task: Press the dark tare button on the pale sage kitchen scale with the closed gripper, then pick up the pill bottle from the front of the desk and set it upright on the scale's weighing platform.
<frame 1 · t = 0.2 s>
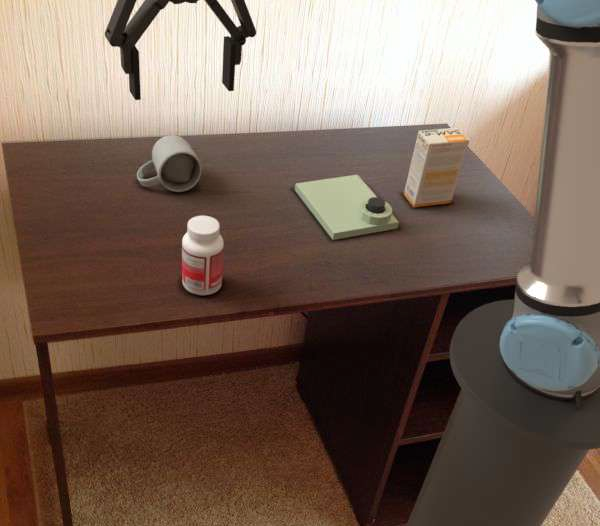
hand: (182, 91, 106), 25 cm above the table, tool pointing down, fingers open, 13 cm apart
supplement box: (426, 200, 142), on the table
scale: (345, 209, 136), on the table
tare button: (376, 205, 132), point 3 cm above the table, slide at 0.1 cm
pill bottle: (201, 285, 117), on the table
ceramic mug: (168, 183, 136), on the table
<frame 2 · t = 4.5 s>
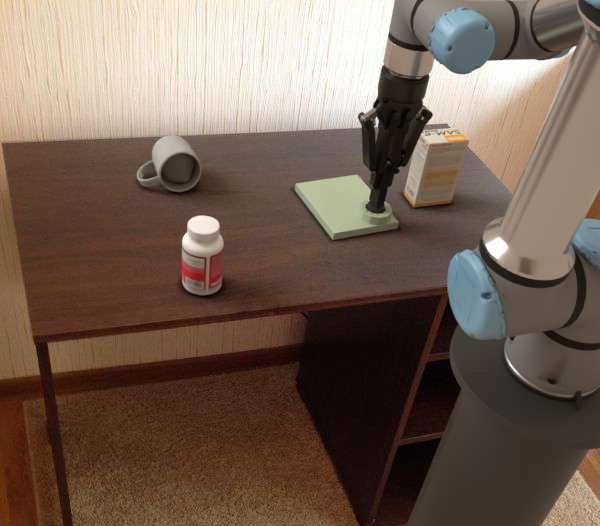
hand: (376, 202, 132), 4 cm above the table, tool pointing down, fingers closed
tare button: (375, 208, 132), point 3 cm above the table, slide at -0.4 cm, touching gripper
everything else where it was.
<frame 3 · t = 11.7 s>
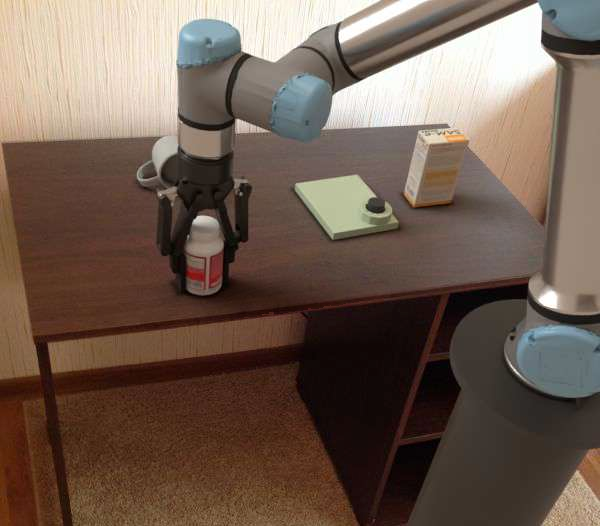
hand: (201, 282, 117), 0 cm above the table, tool pointing down, fingers closed on pill bottle, 6 cm apart
tare button: (376, 205, 132), point 3 cm above the table, slide at 0.1 cm
pill bottle: (201, 285, 117), on the table, touching gripper
everything else where it was.
when the fingers open (2 cm above the table, at t = 20.1 s): pill bottle stays where it is, resting on scale.
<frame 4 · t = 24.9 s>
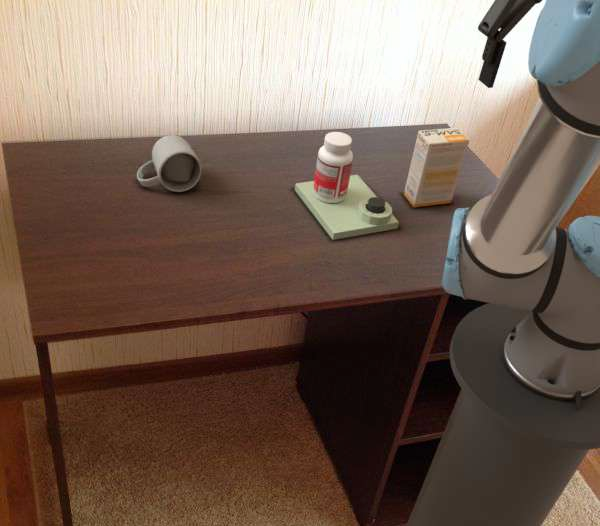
hand: (521, 80, 114), 29 cm above the table, tool pointing down, fingers open, 13 cm apart
pill bottle: (329, 195, 136), point 1 cm above the table, touching scale
everything else where it was.
at the end: tare button pushed in 0.6 cm at the most during the clip, back to where it started at the end; pill bottle inside the target area on the scale (0.5 cm from its centre), point 1.2 cm above the scale's base; pill bottle tilted 0° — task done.
